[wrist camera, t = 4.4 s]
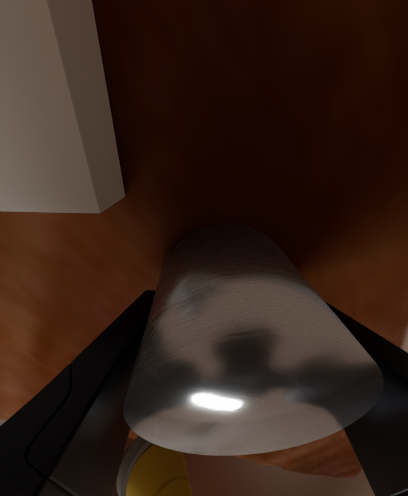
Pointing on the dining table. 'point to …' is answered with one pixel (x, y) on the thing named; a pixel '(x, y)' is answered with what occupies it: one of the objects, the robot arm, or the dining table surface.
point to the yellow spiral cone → (152, 471)
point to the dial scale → (54, 111)
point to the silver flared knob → (243, 353)
